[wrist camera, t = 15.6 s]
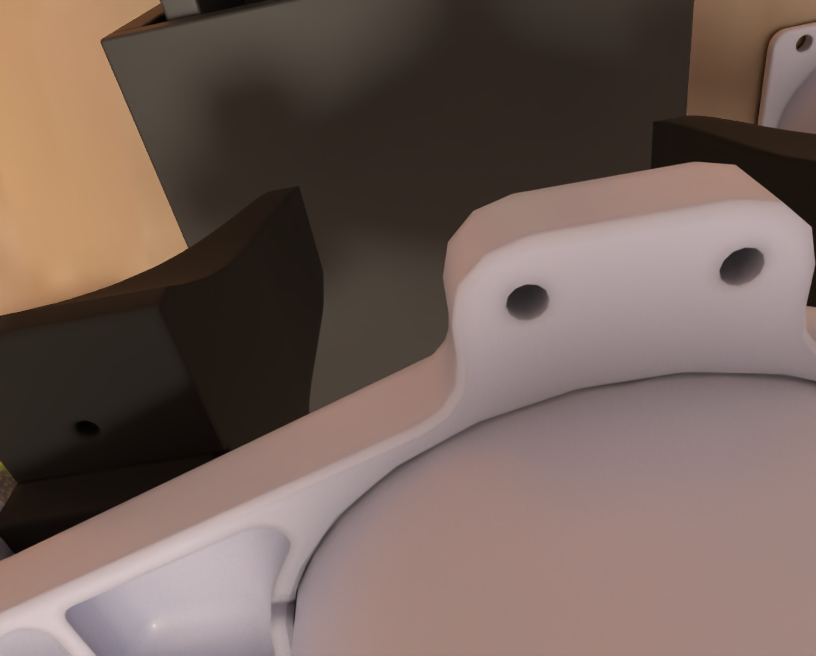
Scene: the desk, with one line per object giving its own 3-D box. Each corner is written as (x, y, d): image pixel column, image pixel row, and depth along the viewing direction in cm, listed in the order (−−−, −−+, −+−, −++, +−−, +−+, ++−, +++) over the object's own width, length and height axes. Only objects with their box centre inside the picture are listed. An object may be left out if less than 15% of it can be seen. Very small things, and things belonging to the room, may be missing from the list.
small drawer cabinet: (186, -13, 20) (97, 40, 13) (589, -100, 19) (701, -88, 13) (303, 333, 28) (283, 473, 21) (594, 281, 27) (666, 410, 20)
